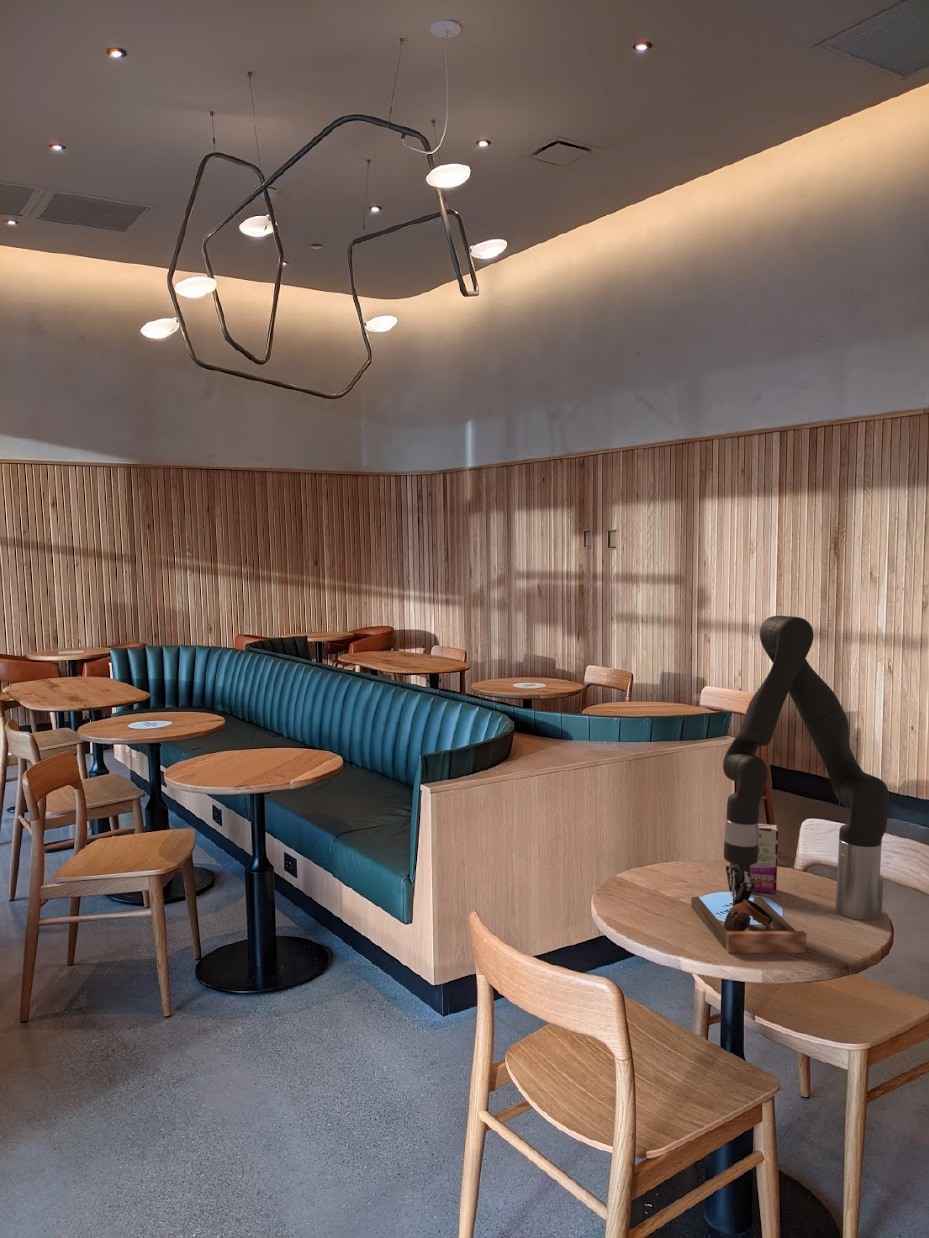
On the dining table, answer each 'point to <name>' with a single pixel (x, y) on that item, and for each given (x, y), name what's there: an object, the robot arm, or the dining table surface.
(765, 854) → the candy bar box
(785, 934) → the bay
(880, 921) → the dining table surface
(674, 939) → the dining table surface
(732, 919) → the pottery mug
